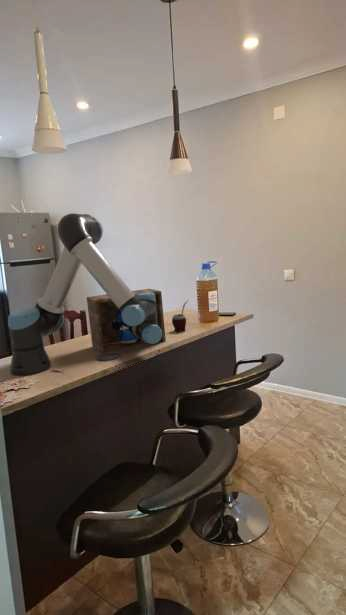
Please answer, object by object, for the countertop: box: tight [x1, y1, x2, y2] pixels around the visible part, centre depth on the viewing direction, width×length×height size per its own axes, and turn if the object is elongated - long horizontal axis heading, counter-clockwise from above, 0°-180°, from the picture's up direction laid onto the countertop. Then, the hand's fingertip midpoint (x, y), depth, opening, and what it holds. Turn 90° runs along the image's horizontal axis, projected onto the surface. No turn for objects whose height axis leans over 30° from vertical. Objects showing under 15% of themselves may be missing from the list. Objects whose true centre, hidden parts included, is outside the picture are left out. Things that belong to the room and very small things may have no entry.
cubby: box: [86, 288, 167, 355], centre depth 187 cm, size 30×15×23 cm, turn 114°
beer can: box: [117, 308, 138, 344], centre depth 187 cm, size 8×8×16 cm
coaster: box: [95, 352, 122, 362], centre depth 170 cm, size 10×10×1 cm
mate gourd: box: [171, 299, 189, 333], centre depth 207 cm, size 8×8×15 cm
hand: (123, 320), depth 191 cm, fingers closed on beer can, 8 cm apart
